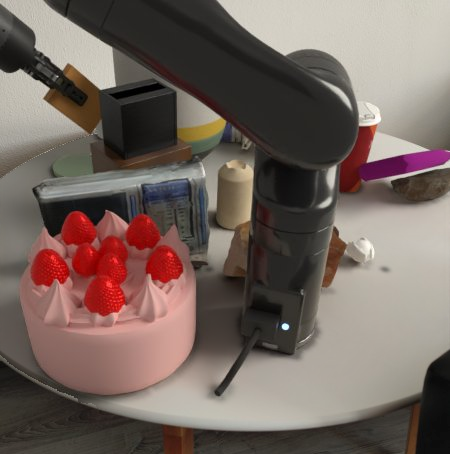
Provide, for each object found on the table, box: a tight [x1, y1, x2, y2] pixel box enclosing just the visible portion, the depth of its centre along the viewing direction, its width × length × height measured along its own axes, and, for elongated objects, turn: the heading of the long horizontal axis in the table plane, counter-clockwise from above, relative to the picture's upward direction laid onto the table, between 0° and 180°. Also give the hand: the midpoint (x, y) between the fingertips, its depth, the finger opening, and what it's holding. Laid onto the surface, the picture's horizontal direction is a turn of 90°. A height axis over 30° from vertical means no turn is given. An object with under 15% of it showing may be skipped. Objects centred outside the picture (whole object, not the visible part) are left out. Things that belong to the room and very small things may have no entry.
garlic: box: [345, 237, 375, 264], centre depth 85 cm, size 5×3×5 cm
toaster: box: [98, 78, 177, 160], centre depth 84 cm, size 9×7×8 cm
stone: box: [221, 221, 348, 289], centre depth 78 cm, size 14×9×15 cm
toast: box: [42, 62, 101, 135], centre depth 97 cm, size 7×2×10 cm
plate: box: [52, 153, 93, 178], centre depth 104 cm, size 9×9×1 cm
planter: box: [111, 47, 226, 160], centre depth 101 cm, size 20×20×21 cm
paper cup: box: [339, 100, 382, 194], centre depth 99 cm, size 8×8×14 cm
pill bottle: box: [219, 122, 242, 143], centre depth 113 cm, size 5×5×9 cm
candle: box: [215, 159, 254, 230], centre depth 90 cm, size 6×6×10 cm
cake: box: [18, 210, 197, 396], centre depth 67 cm, size 20×20×14 cm
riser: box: [89, 137, 191, 174], centre depth 90 cm, size 12×9×12 cm
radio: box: [31, 156, 211, 268], centre depth 79 cm, size 23×9×15 cm, turn 94°
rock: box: [390, 167, 450, 202], centre depth 101 cm, size 14×5×10 cm
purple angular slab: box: [359, 148, 450, 183], centre depth 101 cm, size 3×11×24 cm
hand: (80, 98), depth 97 cm, fingers closed on toast
